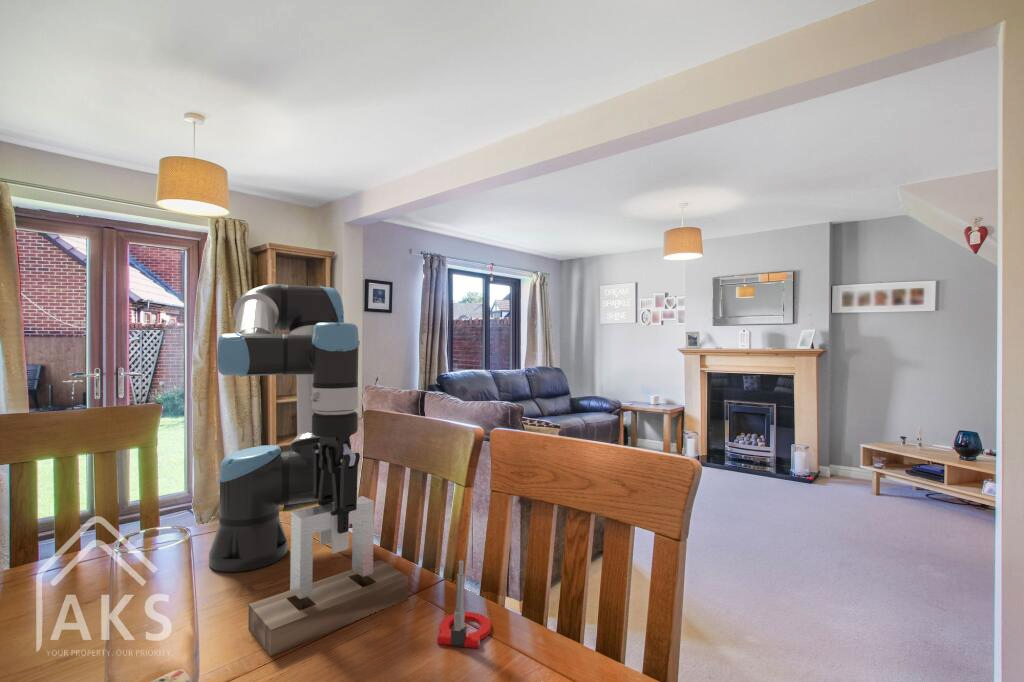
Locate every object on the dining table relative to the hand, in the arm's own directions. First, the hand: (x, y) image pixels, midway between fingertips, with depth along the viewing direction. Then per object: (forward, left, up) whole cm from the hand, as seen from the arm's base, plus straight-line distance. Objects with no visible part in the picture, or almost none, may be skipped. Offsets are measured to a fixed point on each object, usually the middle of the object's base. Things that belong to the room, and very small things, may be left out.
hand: (333, 546), depth 85 cm
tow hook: (+20, +13, -12) cm, 27 cm away
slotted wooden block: (0, 0, -12) cm, 12 cm away
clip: (0, 0, -6) cm, 6 cm away
